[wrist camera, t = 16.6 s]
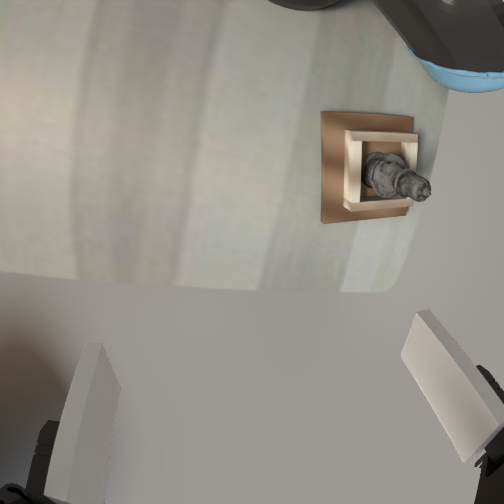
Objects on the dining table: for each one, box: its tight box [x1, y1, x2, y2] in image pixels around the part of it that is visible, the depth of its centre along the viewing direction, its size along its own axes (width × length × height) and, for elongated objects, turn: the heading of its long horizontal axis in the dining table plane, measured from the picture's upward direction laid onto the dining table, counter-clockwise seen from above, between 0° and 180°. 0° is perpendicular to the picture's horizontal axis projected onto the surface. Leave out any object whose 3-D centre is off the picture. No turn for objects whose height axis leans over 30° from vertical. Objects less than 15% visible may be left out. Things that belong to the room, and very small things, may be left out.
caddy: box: [321, 112, 418, 224], centre depth 40 cm, size 15×14×4 cm
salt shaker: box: [361, 152, 431, 202], centre depth 36 cm, size 6×6×12 cm
